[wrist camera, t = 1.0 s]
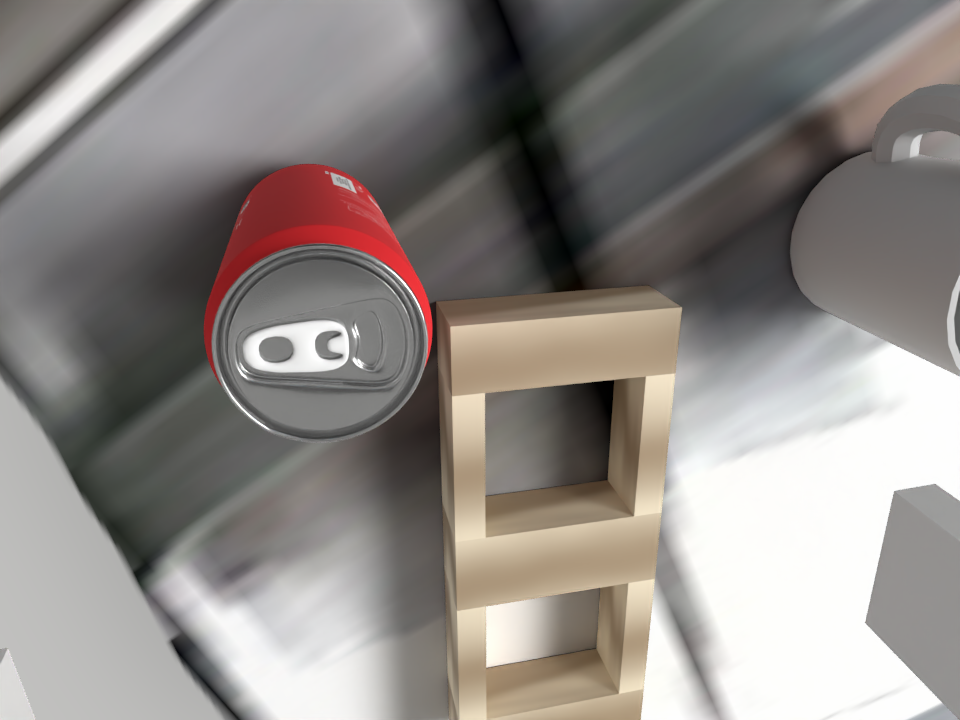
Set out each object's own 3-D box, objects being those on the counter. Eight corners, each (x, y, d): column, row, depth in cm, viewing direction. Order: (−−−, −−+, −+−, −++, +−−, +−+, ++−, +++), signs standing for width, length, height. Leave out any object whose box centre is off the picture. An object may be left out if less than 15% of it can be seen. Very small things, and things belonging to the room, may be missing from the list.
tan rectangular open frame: (436, 301, 29) (450, 326, 27) (648, 285, 31) (682, 307, 29) (448, 716, 38) (460, 768, 35) (615, 684, 40) (639, 731, 37)
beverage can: (386, 295, 29) (441, 440, 18) (247, 304, 28) (216, 464, 17) (379, 157, 27) (436, 227, 16) (229, 162, 26) (181, 238, 15)
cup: (785, 329, 34) (939, 416, 26) (780, 99, 30) (961, 117, 21) (926, 289, 35) (1118, 360, 27) (939, 61, 30) (1171, 63, 22)
